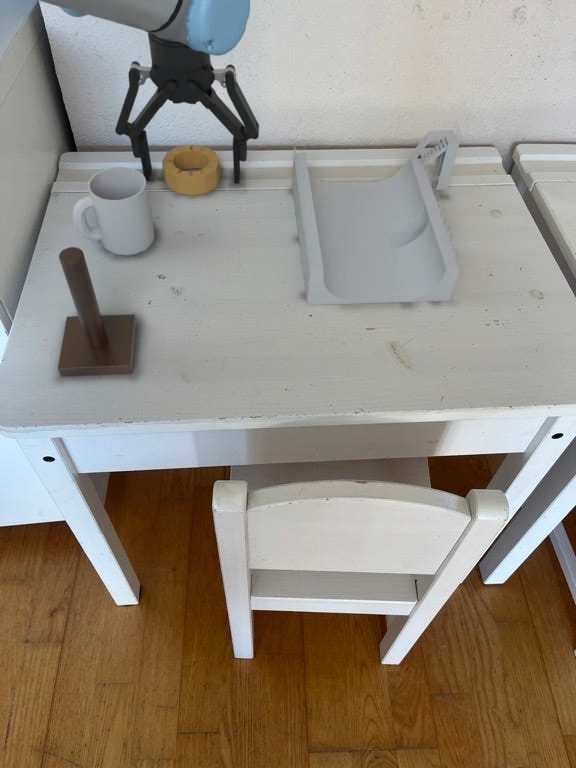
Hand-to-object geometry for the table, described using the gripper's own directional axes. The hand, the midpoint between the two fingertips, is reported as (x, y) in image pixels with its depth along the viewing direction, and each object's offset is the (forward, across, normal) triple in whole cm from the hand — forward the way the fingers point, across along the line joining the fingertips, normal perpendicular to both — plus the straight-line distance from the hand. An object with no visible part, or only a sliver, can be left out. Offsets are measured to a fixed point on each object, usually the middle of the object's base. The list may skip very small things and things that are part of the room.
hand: (192, 176), depth 95 cm
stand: (0, +8, +34) cm, 35 cm away
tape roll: (0, 0, 0) cm, 0 cm away
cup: (0, +9, +15) cm, 17 cm away
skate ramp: (0, -27, +13) cm, 30 cm away
